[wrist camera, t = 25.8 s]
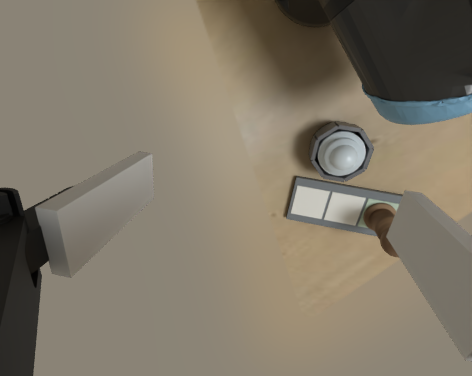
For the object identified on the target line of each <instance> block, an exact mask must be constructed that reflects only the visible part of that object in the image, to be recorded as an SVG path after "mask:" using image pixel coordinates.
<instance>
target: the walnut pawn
mask: <svg viewBox="0 0 472 376" xmlns="http://www.w3.org/2000/svg"><path fill="white" fill-rule="evenodd" d="M395 214H396V210H395V209H394V208H393V207H392V206H391V205H390V204H387V203H375V204H373V205H371V206H369V207H368V208H367V209H366V210H365V212H364V215H363V220H364V222H365V224H366V226H367V227H368V228H369V229H371V230H373V231H375V233H376V234H377V236H378V238H379V239H380V243H381V246H382V248H383V249H384V251H385V252H386V253H388V254H389V255H391V256H394V257H399V256H398V255H397V253H396V251H395V250H394V248H393V247H392V245H391V244H390V242H389V240H388V239H387V237H386V236H387V233H388V231H389V228H390V226H391V224H392V221H393V219H394V216H395Z"/></svg>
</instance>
